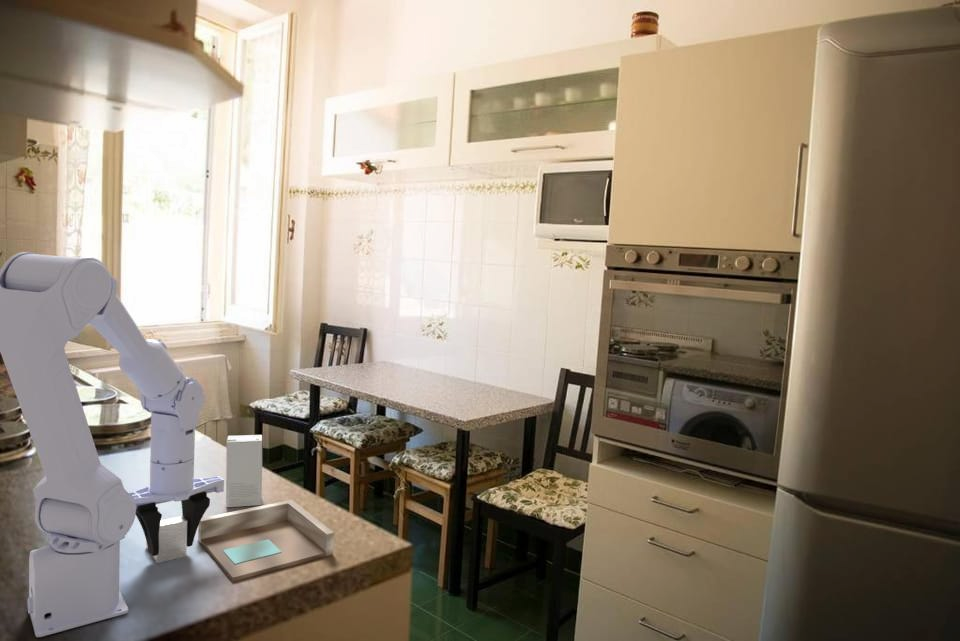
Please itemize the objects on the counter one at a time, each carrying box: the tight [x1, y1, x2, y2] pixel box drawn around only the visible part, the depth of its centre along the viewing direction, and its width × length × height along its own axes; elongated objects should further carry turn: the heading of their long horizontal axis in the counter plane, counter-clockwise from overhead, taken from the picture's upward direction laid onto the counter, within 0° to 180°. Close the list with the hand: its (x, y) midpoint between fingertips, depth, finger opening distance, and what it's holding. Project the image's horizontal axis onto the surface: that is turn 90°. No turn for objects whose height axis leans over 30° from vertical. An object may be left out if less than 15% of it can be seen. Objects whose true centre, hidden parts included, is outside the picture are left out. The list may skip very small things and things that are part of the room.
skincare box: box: [225, 434, 263, 508], centre depth 115 cm, size 6×4×12 cm
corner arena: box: [197, 499, 335, 583], centre depth 99 cm, size 15×15×4 cm
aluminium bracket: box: [145, 515, 188, 564], centre depth 95 cm, size 4×6×6 cm, turn 41°
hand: (170, 548), depth 94 cm, fingers closed on aluminium bracket, 4 cm apart
